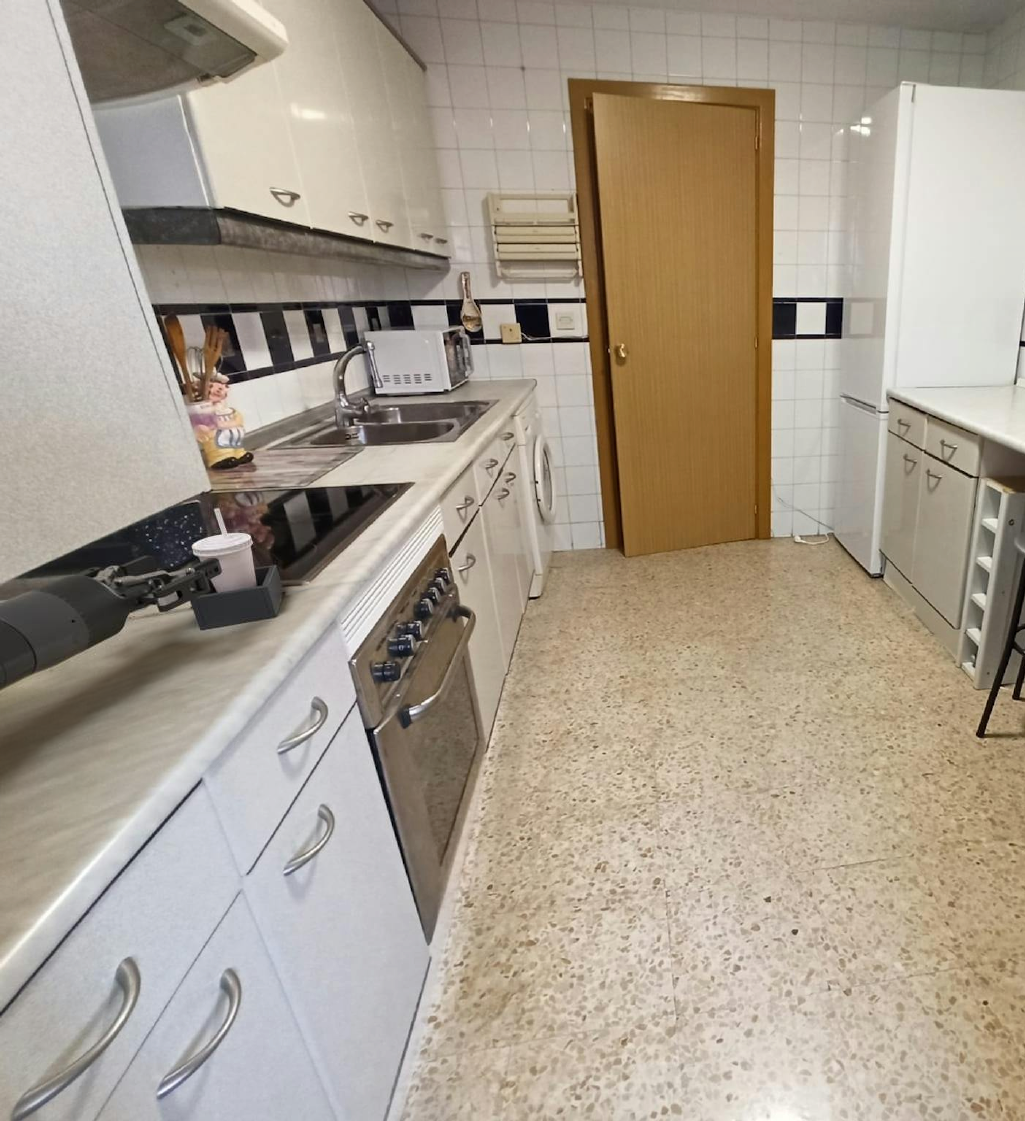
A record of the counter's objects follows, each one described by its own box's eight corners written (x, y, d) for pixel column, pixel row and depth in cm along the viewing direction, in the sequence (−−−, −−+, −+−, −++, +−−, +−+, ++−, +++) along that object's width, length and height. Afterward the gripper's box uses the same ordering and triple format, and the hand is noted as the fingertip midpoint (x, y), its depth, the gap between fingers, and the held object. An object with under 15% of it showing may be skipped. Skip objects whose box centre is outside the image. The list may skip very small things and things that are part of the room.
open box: (200, 630, 85) (188, 598, 83) (214, 604, 92) (203, 575, 90) (276, 617, 89) (267, 586, 87) (284, 593, 96) (276, 564, 94)
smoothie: (271, 608, 89) (240, 511, 84) (212, 621, 86) (176, 521, 80) (271, 592, 94) (242, 499, 89) (215, 603, 91) (182, 507, 85)
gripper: (100, 594, 65) (230, 537, 79) (-33, 590, 65) (120, 534, 80) (128, 659, 67) (248, 592, 82) (-1, 654, 68) (142, 589, 83)
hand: (185, 563), depth 81 cm, fingers open, 8 cm apart
